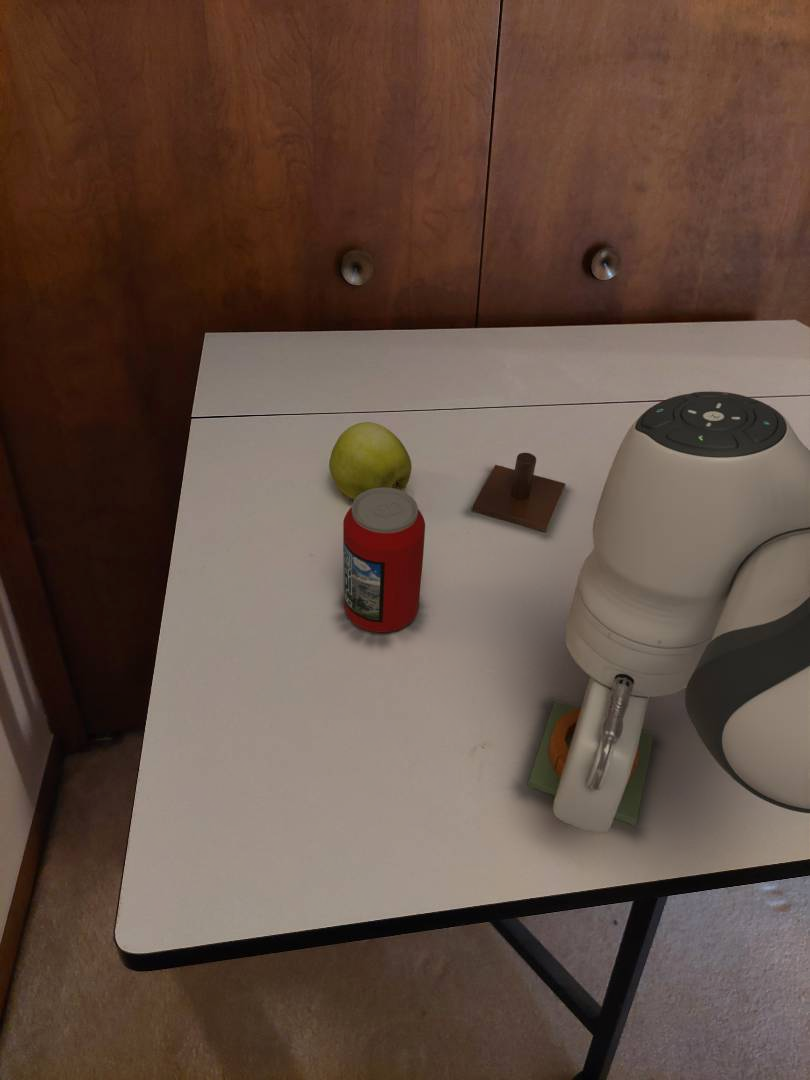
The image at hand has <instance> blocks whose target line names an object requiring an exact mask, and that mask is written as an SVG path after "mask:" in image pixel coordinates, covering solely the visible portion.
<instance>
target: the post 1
mask: <svg viewBox="0 0 810 1080" xmlns="http://www.w3.org/2000/svg"><path fill="white" fill-rule="evenodd" d="M536 464H537V457H536V455H534V454H532V453H531V452H521V453H519V454H517V456H516V460H515V466H514V468H510V467H506V466H503V465H498V464H494V466H493V468H492V470H491V472H490V473H489V475H488V477H487V479H486V481H485V483H484V485H483V486H482V488H481V490H480V492H479V494H478V495H477V497H476V499H475V501H474V502H473V504H472V508H471V511H472V513H473V512H474V513H477V514H481V515H483V516H487V517H491V518H494V519H498V520H502V521H505V522H508V523H512V524H516V525H519V526H523V527H525V528H530V529H532V530H537V531H540V532H543V533H547V531H548V529H549V527H550V525H551V522H552V520H553V517H554V514H555V513H556V510H557V508H558V505H559V503H560V500H561V499H562V496H563V494H564V491H565V488H566V483H565V482H562V481H559V480H555V479H552V478H551V479H550V478H547V477H544V476H539V475H536V474H535V469H536Z"/></svg>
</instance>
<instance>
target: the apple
mask: <svg viewBox="0 0 810 1080" xmlns="http://www.w3.org/2000/svg"><path fill="white" fill-rule="evenodd" d="M328 463H329V464H328V468H329V473H330V476H331V479H332V481H333V483H334V484H335V486H336V488H337V489H338V490H339V491H340V492H341V493H342V494H343V495H344V496H346V497H348V498H350V499H351V500H353V501H354V500H355V498H356V497H357V496H358V495H360V494H361V493H363V492H365V491H367V490H370V489H374V488H382V487H383V488H394V489H398V490H401V491H403V489H404V488H405V487H407V485H408V483H409V481H410V478H411V474H412V467H413V466H412V460H411V458H410V455H409V453H408V451H407V449H406V447H405V445H404V444H403V442H402V441H401V440H400V439H399V438H398V437H397V436H396V434H394V433H393V432H392V431H391V430H390V429H388V428H387V427H385V426H383V425H381V424H379V423H377V422H371V421H362V422H359V423H355V424H353V425H351V426H349V427H348V428H346V429H345V430H344V431H343V432H342V433H341V434H340V435H339V437H338V438H337V440H336V442H335V444H334V445H333V447H332V450H331V453H330V457H329V462H328Z"/></svg>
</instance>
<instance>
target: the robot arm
mask: <svg viewBox="0 0 810 1080" xmlns="http://www.w3.org/2000/svg"><path fill="white" fill-rule="evenodd" d="M599 498H600V499H599V501H598V505H597V508H596V511H595V516H594V519H593V524H592V542H593V543H592V544H593V547H592V550H591V552H589V554H588V555H587V556H586V558H585V560H584V561H583V564H582V566H581V568H580V571H579V574H578V578H577V581H576V585H575V589H574V592H573V596H572V600H571V604H570V606H569V611H568V614H567V619H566V622H565V627H564V638H565V643H566V646H567V648H568V652H569V653H570V655H571V657H572V658H573V660H574V662H575V663H576V664H577V665H578V667H580V668H581V669H582V671H583V672H585V673H586V674H587V675H588V676H589V680H588V683H587V685H586V690H585V693H584V696H583V700H582V703H581V707H580V709H581V710H580V713H579V717H578V720H577V724H576V727H575V731H574V734H573V738H572V741H571V745H570V748H569V751H568V755H567V758H566V762H565V765H564V769H563V772H562V776H561V779H560V783H559V786H558V789H557V793H556V796H554V800H553V806H552V810H553V814H554V816H555V817H556V818H557V819H559V820H560V821H562V822H563V823H566V824H568V825H571V826H573V827H575V828H578V829H581V830H584V831H586V832H590V833H592V834H597V835H602V834H606V833H607V832H608V831H609V830H610V828H611V826H612V824H613V822H614V819H615V818H614V817H615V814H616V811H617V809H618V806H619V804H620V801H621V799H622V796H623V793H624V790H625V788H626V785H627V782H628V779H629V777H630V774H631V771H632V767H633V764H634V761H635V757H636V753H637V749H638V745H639V740H640V735H641V731H642V730H643V726H644V720H645V716H646V713H647V712H646V711H647V707H648V702H649V698H658V697H665V696H668V695H669V696H670V695H673V694H675V693H678V692H680V691H682V690H684V689H685V691H684V693H685V694H684V702H685V703H684V705H685V709H686V712H687V716H688V719H689V720H690V722H691V724H692V726H693V729H694V731H696V733H697V735H698V737H699V739H700V740H701V742H702V743H703V745H704V746H705V748H706V749H707V751H708V752H709V754H710V755H711V756H712V757H713V759H714V761H716V763H718V764H719V766H720V767H721V769H723V770H724V771H725V773H726V774H728V776H729V777H731V778H732V779H733V780H734V781H735V782H736V783H738V784H739V785H740V786H741V787H742V788H744V789H745V790H747V791H748V792H750V793H751V794H752V795H754V796H756V797H758V798H759V799H761V800H763V801H764V802H766V803H769V804H772V805H774V806H777V807H779V808H781V809H786V810H788V811H794V812H798V813H802V814H803V813H804V814H810V449H809V448H808V447H807V446H806V445H805V444H804V443H803V442H802V441H801V440H800V438H799V437H798V435H797V434H796V432H795V430H794V429H793V426H791V423H790V422H789V421H788V419H787V418H786V417H785V416H784V415H783V414H782V413H781V412H779V411H778V410H777V409H775V407H772V406H771V405H769V404H767V403H766V402H763V401H761V400H758V399H756V398H752V397H749V396H746V395H742V394H739V393H735V392H734V393H732V392H724V391H709V390H708V391H694V392H692V393H685V394H679V395H676V396H673V397H670V398H666V399H665V400H662V401H659V402H658V403H656V404H654V405H653V406H651V407H649V408H648V409H647V410H646V411H644V412H643V413H642V414H641V415H640V416H639V417H638V418H637V419H635V421H634V422H633V423H632V424H631V426H630V427H629V428H628V430H627V432H626V434H625V435H624V437H623V439H622V441H621V442H620V445H619V447H618V449H617V451H616V453H615V456H614V457H613V461H612V463H611V466H610V468H609V470H608V473H607V477H606V480H605V482H604V485H603V488H602V491H601V495H600V497H599Z"/></svg>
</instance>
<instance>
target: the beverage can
mask: <svg viewBox="0 0 810 1080" xmlns="http://www.w3.org/2000/svg"><path fill="white" fill-rule="evenodd" d="M342 523H343V529H342V534H343V536H342V538H343V539H342V541H343V542H342V545H343V546H342V554H343V555H342V560H343V561H342V562H343V565H342V566H343V567H342V568H343V606H344V610H345V613H346V616H347V617H348V618H349V620H350V621H351V622H352V623H353V624H355V625H356V626H358V627H360V628H362V629H363V630H366V631H370V632H375V633H388V632H393V631H394V632H395V631H397V630H400V629H403V628H405V627H406V626H407V625H410V623H412V621H413V620H414V619H415V618H416V617H417V614H418V611H419V607H420V597H421V596H420V595H421V585H422V577H423V575H422V574H423V561H424V552H425V551H424V550H425V549H424V548H425V536H426V535H425V534H426V522H425V518H424V516H423V514H422V512H421V511H420V509H419V506H418V503H417V501H416V500H415V499H414V497H413V496H412V495H411V494H409V493H408V492H405V491H403V490H398V489H394V488H383V487H382V488H374V489H370V490H367V491H365V492H363V493H361V494H360V495H358V496H357V497H356V498H355V500H353V502H352V505H351V507H350V508H349V509H348V510H347V512H346V513H345V516H344V517H343V522H342Z"/></svg>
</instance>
